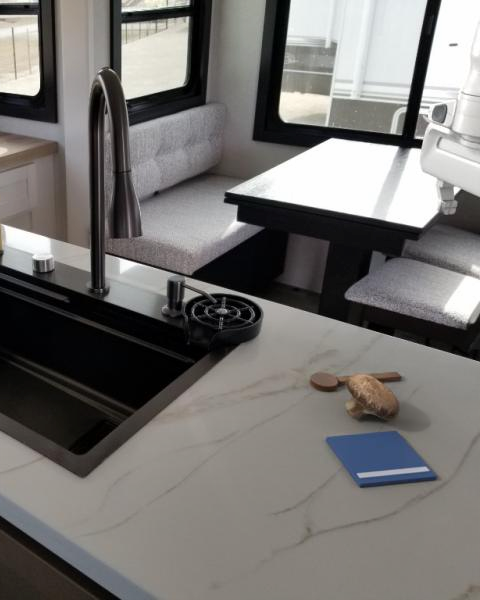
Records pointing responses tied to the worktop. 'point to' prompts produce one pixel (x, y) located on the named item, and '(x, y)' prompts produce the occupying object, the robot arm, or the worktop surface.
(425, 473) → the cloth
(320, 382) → the spoon
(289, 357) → the worktop surface
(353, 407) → the mushroom
